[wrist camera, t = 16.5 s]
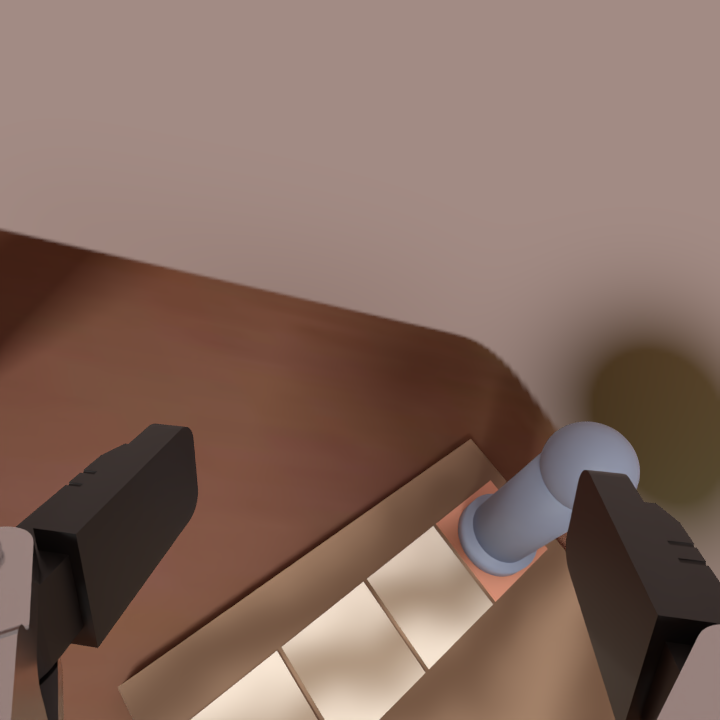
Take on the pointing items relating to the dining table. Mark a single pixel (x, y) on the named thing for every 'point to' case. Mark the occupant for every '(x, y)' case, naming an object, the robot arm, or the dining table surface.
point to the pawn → (540, 497)
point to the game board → (391, 628)
